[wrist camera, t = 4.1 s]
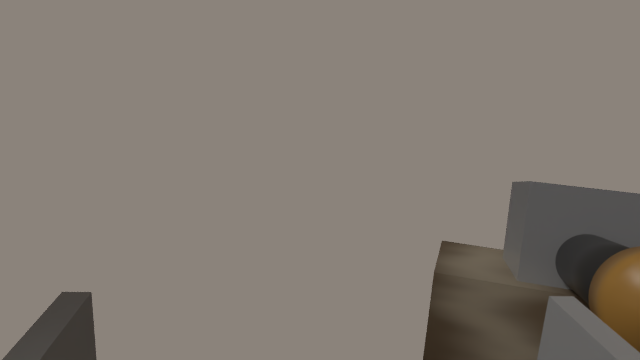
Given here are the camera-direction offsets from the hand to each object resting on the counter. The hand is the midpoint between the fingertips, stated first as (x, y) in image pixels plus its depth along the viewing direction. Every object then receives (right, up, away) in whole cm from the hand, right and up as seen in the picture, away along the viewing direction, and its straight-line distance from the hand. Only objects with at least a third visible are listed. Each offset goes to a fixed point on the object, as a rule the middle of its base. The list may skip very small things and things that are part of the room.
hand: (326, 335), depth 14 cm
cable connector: (+12, -1, +9) cm, 15 cm away
